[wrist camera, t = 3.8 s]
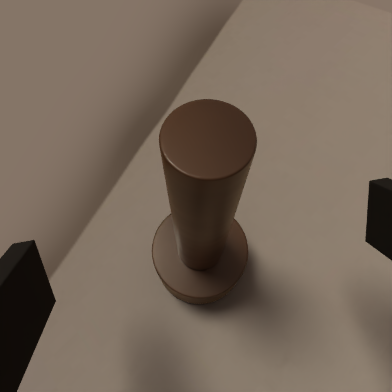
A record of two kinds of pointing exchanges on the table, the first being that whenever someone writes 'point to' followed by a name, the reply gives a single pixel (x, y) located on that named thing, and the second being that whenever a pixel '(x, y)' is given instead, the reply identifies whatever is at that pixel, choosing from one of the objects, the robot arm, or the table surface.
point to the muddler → (203, 199)
